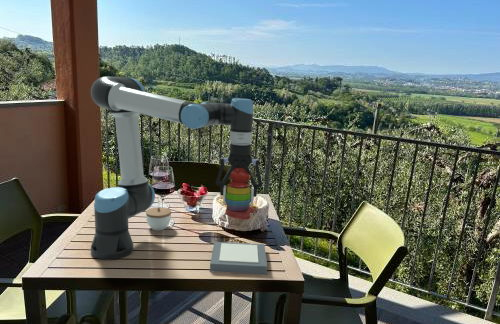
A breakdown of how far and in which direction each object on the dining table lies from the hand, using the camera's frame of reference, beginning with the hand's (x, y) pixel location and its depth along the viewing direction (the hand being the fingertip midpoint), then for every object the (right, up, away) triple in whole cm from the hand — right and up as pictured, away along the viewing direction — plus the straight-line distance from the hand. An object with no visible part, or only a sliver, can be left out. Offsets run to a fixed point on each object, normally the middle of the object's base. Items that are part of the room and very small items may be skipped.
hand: (238, 204), depth 133 cm
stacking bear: (0, -4, +1) cm, 4 cm away
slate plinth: (0, -22, +5) cm, 22 cm away
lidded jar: (-36, -14, +30) cm, 49 cm away
